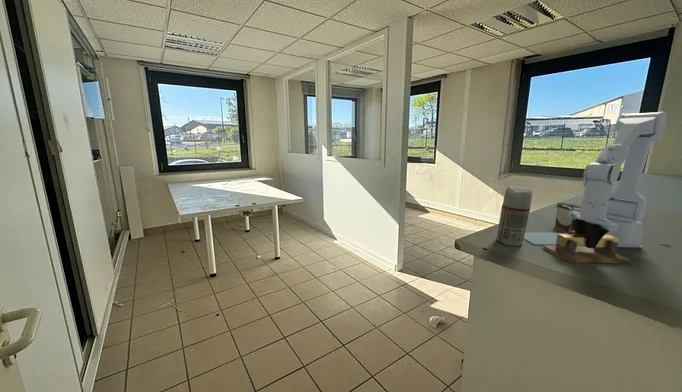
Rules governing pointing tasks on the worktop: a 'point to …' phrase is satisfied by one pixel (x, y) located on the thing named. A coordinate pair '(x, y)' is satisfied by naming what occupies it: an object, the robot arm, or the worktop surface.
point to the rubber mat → (541, 238)
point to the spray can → (514, 215)
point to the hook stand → (587, 253)
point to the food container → (565, 217)
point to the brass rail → (583, 240)
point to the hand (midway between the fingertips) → (585, 245)
